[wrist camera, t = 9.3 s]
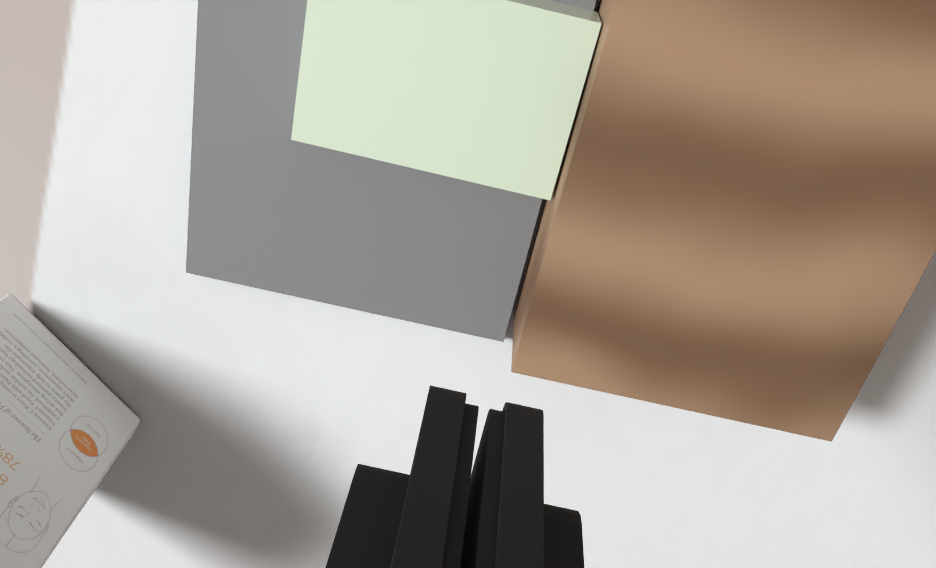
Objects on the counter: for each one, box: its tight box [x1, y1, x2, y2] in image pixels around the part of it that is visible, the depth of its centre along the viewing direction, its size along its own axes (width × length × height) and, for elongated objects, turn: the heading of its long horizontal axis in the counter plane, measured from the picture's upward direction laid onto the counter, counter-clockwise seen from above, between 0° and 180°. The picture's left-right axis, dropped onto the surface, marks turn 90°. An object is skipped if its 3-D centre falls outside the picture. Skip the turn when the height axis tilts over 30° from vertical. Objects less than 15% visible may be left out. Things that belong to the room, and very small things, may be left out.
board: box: [511, 0, 936, 441], centre depth 27 cm, size 18×12×4 cm, turn 168°
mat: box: [186, 0, 596, 342], centre depth 28 cm, size 20×13×1 cm, turn 168°
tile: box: [291, 0, 602, 200], centre depth 27 cm, size 6×9×2 cm, turn 78°
